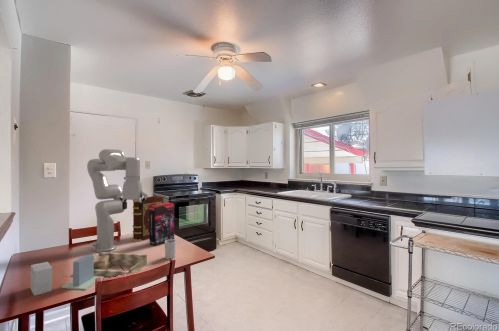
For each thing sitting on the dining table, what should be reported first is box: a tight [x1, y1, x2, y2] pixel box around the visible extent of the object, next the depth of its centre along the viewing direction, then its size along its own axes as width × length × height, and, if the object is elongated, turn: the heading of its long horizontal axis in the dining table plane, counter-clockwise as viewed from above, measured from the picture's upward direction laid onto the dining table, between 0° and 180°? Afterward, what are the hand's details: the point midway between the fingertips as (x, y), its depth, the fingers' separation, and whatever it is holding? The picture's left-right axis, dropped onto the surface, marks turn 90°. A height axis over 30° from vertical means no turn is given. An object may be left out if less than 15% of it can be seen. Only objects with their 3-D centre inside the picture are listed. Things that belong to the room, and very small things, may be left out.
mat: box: [61, 275, 105, 291], centre depth 121 cm, size 12×12×1 cm
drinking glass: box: [164, 238, 177, 260], centre depth 153 cm, size 7×7×10 cm
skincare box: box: [29, 261, 53, 296], centre depth 114 cm, size 10×6×10 cm, turn 48°
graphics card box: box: [149, 202, 175, 247], centre depth 181 cm, size 17×7×27 cm, turn 147°
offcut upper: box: [94, 255, 109, 268], centre depth 136 cm, size 6×8×3 cm
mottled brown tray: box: [94, 251, 148, 277], centre depth 135 cm, size 28×15×6 cm, turn 83°
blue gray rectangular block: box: [72, 254, 95, 286], centre depth 121 cm, size 3×9×11 cm, turn 173°
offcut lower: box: [94, 261, 113, 270], centre depth 136 cm, size 7×9×3 cm
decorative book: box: [132, 195, 164, 242], centre depth 193 cm, size 22×8×30 cm, turn 148°
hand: (132, 209), depth 145 cm, fingers open, 9 cm apart
